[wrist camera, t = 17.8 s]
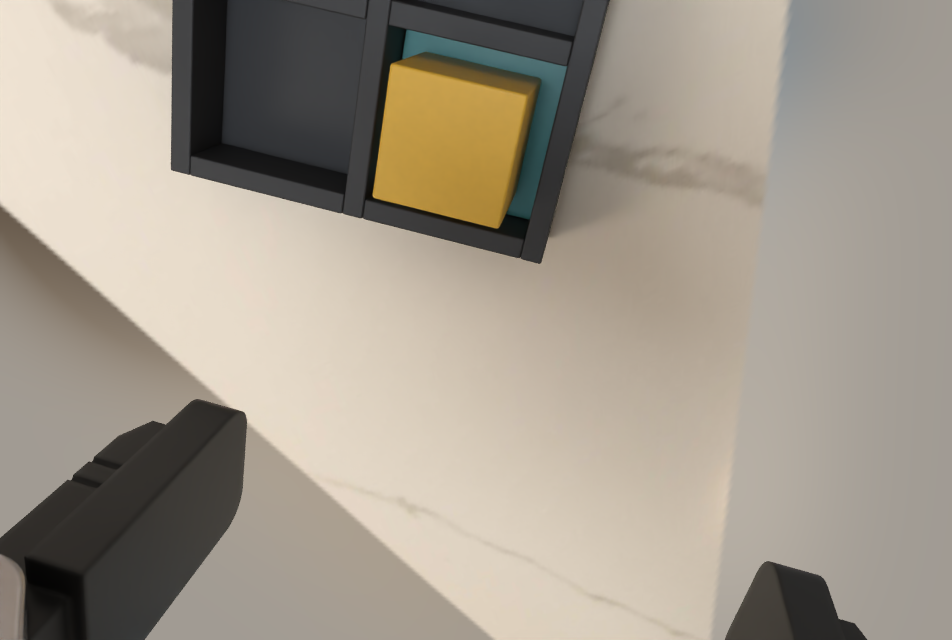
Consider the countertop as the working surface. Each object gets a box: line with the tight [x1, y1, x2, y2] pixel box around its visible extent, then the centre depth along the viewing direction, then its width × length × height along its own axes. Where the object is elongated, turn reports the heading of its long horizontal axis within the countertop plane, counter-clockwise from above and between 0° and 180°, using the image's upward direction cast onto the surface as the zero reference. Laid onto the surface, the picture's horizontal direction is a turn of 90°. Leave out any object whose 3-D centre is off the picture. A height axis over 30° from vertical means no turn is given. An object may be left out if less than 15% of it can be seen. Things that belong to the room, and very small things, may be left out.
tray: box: [171, 0, 610, 264], centre depth 26 cm, size 15×15×3 cm
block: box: [373, 52, 541, 228], centre depth 26 cm, size 4×4×4 cm
